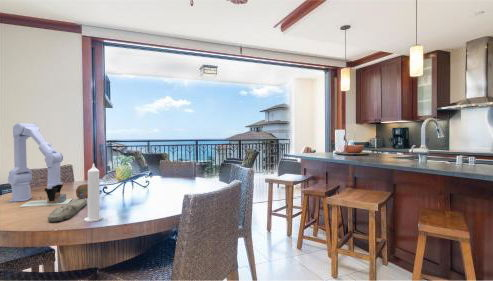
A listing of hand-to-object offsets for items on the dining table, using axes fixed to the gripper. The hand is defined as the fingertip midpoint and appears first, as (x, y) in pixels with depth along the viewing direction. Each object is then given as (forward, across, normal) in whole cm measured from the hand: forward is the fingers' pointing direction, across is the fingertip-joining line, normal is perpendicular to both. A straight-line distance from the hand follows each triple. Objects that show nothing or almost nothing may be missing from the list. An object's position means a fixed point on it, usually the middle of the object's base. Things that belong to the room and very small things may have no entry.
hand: (54, 199), depth 149 cm
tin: (+2, +10, -14) cm, 17 cm away
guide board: (+2, 0, +3) cm, 3 cm away
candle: (+2, -40, -26) cm, 48 cm away
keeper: (+2, 0, 0) cm, 2 cm away
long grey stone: (+2, -23, -13) cm, 27 cm away
